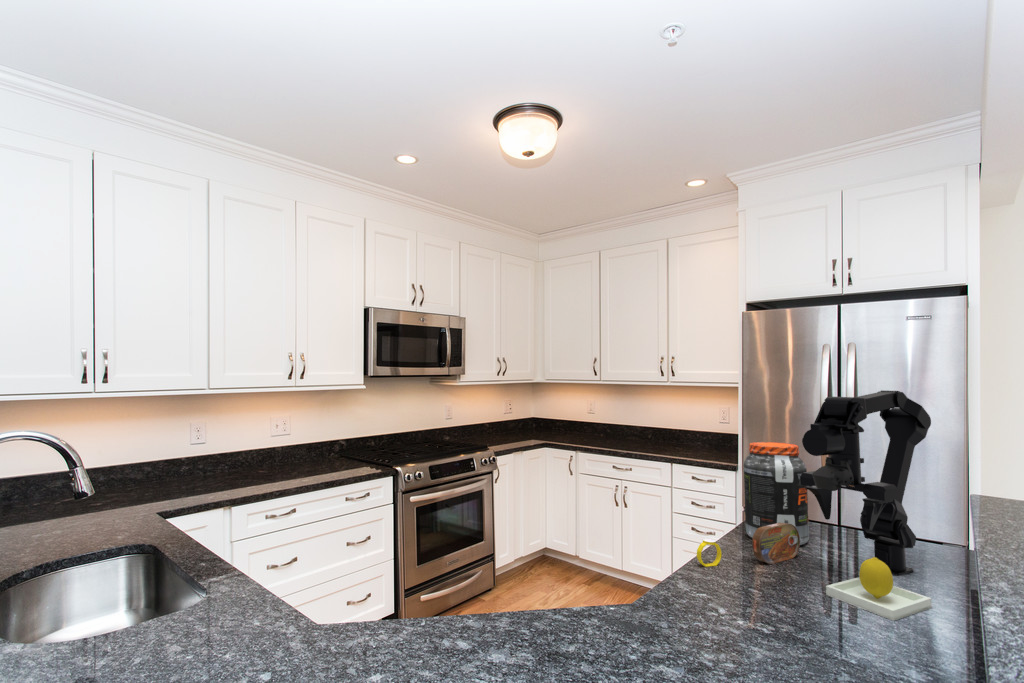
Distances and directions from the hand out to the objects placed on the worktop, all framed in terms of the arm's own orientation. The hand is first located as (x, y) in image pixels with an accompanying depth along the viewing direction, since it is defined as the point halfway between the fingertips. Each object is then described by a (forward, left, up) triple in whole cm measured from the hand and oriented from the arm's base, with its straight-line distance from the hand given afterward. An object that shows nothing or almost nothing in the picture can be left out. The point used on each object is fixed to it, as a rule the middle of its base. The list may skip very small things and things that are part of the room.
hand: (847, 524), depth 115 cm
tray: (+6, +9, -12) cm, 16 cm away
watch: (+21, -20, -12) cm, 32 cm away
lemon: (+6, +9, -12) cm, 16 cm away
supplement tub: (-12, -27, -12) cm, 32 cm away
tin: (+3, -16, -12) cm, 20 cm away
